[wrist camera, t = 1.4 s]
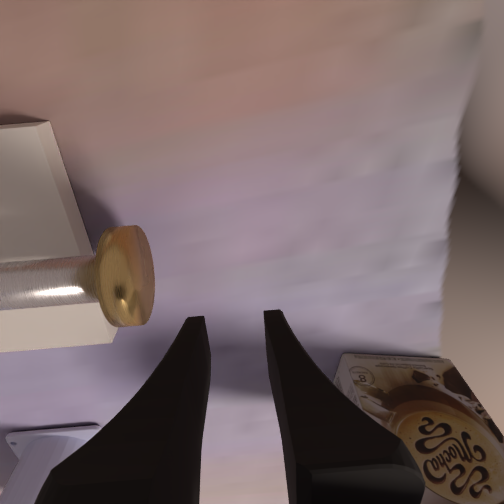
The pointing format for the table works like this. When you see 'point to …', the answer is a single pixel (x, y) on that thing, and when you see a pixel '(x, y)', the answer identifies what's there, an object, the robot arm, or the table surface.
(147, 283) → the shaft
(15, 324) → the shaft housing
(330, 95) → the table surface
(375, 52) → the table surface
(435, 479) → the coffee box
